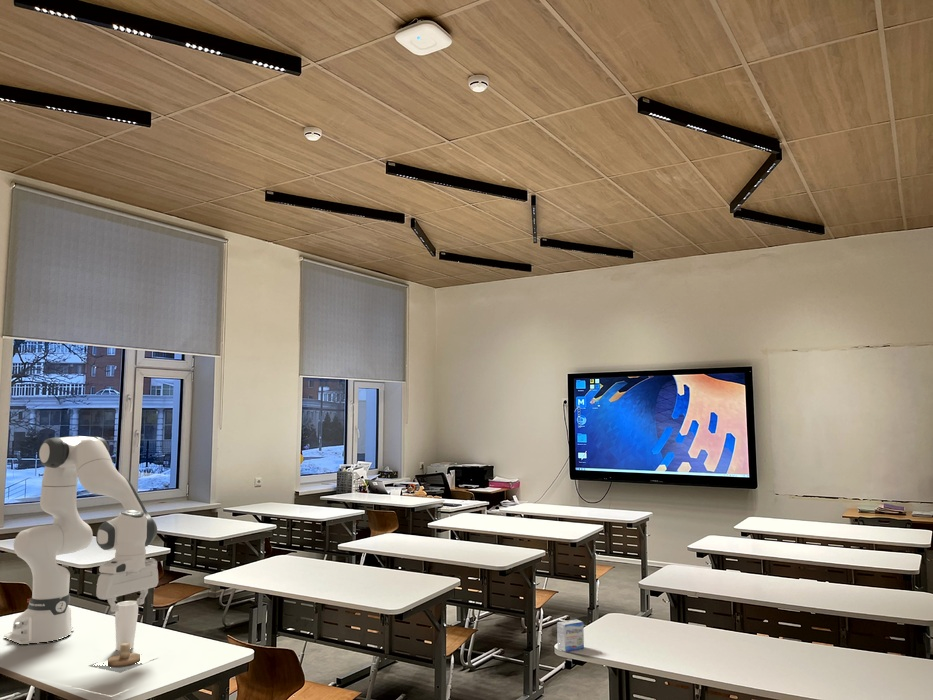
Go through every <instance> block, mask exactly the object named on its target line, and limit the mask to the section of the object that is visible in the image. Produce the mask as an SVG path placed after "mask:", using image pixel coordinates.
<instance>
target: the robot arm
mask: <svg viewBox="0 0 933 700" xmlns="http://www.w3.org/2000/svg"><path fill="white" fill-rule="evenodd" d="M109 447H110V446H109V444H108V442H107V440H106V439H105V438H103V437H99V436H88V435H87V436H83V435H74V436H63V437H58V436H56V437H51V438H47V439H45V440H44V441H43V442H42V443H41V444H40V447H39V450H38V458H39V461H40V463H41V464H42V466H44V469H43V470H44V471H43V475H42V479H41V489H40V490H41V491H40V497H39V506H40V507H39V508H40V509H41V510H42V511H43V512H45V513H46V514H48V515H51V517H52V518H53V524H48V525H47V524H46V525H38V526H33V527H29V528H27V529H24V530H21V531H19V532H18V534H17V535H16V536H15V538H14V541H13V550H14V553H15V554H16V556H17V557H18V558H20V559H21V560H23V561H24V562H26V564H27V565H28V567H29V569H30V571H31V575H32V595H31V598H27V602H26V603H28V605H27V609H26V610H24V611H23V612H22V613H21V614H20V615H18V616H17V617H16V618H15V619H14V620H13V625H12V631H10V632H8V633H6V634H4V635H3V638H4V637H6V638H8V639H11V640H13V641H15V642H17V643H19V644H28V645H30V644H29V643H37V644H40V643H39V642H47V643H49V642H48V641H52V640H57V639H59V638H62V637H65V636H67V635H69V634H70V633H71V634H72V632H71V630H72V629H73V628H74V626H73V627H72V609H71V607H70V606H69V605H70V603H71V602H70V601H71V593H69V592H70V577H71V573H70V570H68V568H66V567H64V566H62V565H59V564H58V562H57V560H56V559H57V556H61V555H67V554H74V553H76V552H80V551H81V550H84V549H87V548H88V547H89V546H90V544H91V542H92V540H93V536H94V535H93V529H92V528H91V526H90V525H89V524H88V523H87V522H85V521H84V520H83V519H82V518H81V516H80V513H79V511H78V508H77V507H78V506H77V495H78V493H77V491H78V480H79V483H80V484H81V486H82V487H83V489H84V490H86V491H87V492H89V493H91V494H95V495H100V496H105V497H109V498H112V499H115V500H116V501H118V502H120V504H121V505H122V507H123V508H124V510H123V511H120V512H119V514H118V516H116V517H115V518H113V519H110V520H107V521H104V522H102V523H101V524H100V526H99V527H98V529H97V531H96V534H95V535H96V536H95V540H96V543H97V545H98V547H99V548H101V549H102V550H104V551H115V554H114V557H113V558H112V559H110V560H108V561H107V562H104V563H103V564H101V565H100V566H99V567H98V571H99V573H101V574H99V576H98V578H97V583H96V598H97V599H99V600H104V601H105V600H107V603H108V605H109V606H110V612H111V613H115V612H116V611H118V610H119V609H118V608H119V605H116V604H117V603H116V601H117V598H118V597H122V596H125V595H129V594H133V593H137V592H139V593H140V595H139V597H137V598H136V601H137V605H138V606H141V605H143V604H145V598H146V597H147V595H148V594H149V589H152V588H155V587H157V586H158V584H159V570H158V561H157V560H156V559H155V558H154V557H153V558H152V557H151V558H149V559H147V558H146V555H147V549H146V547H148V546H149V545H151V543H152V542H153V541H154V540H155V539H156V537H157V535H158V528H157V527H158V526H157V523H156V521H155V520H154V518H152V516H151V515H150V514H149V512H148V511H147V509H146V508H145V505H144V504H143V502H142V500H141V499H140V496H139V494H138V493H137V491H136V489H135V487H134V486H133V484H132V482H131V481H130V480H129V479H128V478H126V477H125V476H123V475H122V474H121V473H120V472H119V471H118V470H117V468H116V466H115V464H114V462H113V459H112V457H111V455H110V452H109V451H110V448H109ZM57 641H58V640H57ZM17 643H16V644H17ZM19 644H18V645H19Z"/></svg>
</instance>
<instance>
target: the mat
mask: <svg viewBox="0 0 933 700" xmlns="http://www.w3.org/2000/svg"><path fill="white" fill-rule="evenodd" d="M96 663H97V662H96ZM96 663H92V664H89V665H88V667H92V668H97V667H99V668H97V669H102V670H105V669H106V670H105V671H111V672H115V673H123V672H126V671H128V670H131V669H135V668H136V667H139V666H142V665H143V664H142V663H140V664H138V663H136V664H132V665H128V666H121V667H113V666H109V665H108V666H106V665H105V666H103V665H102V666H100V665H99V666H98V665H97V666H95V665H94V664H96ZM103 664H104V663H103ZM93 665H94V666H93ZM110 667H111V668H110Z"/></svg>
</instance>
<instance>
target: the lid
mask: <svg viewBox="0 0 933 700" xmlns="http://www.w3.org/2000/svg"><path fill="white" fill-rule="evenodd" d="M139 661H140V653H136V652H131V650H130V643H123V644H121V645H120V651H119V654H116V655H113V656H110V657H109V658H108V665H109V666H113V667H121V666H128V665H132V664H135V663H137V662H139Z"/></svg>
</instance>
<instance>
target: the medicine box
mask: <svg viewBox="0 0 933 700" xmlns="http://www.w3.org/2000/svg"><path fill="white" fill-rule="evenodd" d="M556 629H557V630H556V632H557V633H556V636H557V649H558V650H561V651H562V652H565V653H567V652H573V651H577V650H584V648H585V637H584V635H585V634H584V621H582V620H579V619H577V618H576V619H575V618H574V619H570V620H564V621H558V622H556ZM559 643H560V644H559Z"/></svg>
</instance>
